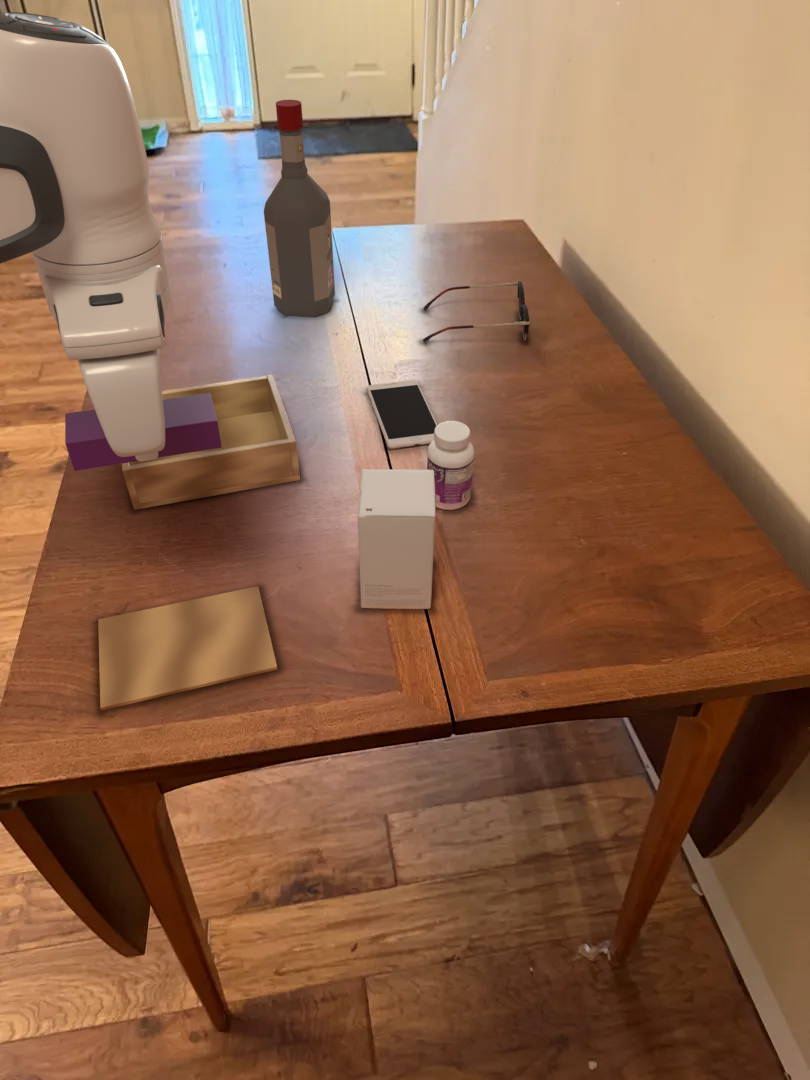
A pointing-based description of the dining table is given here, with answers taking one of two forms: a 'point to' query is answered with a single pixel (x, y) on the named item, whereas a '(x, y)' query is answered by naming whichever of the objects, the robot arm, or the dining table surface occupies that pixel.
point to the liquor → (298, 227)
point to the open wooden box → (223, 448)
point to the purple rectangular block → (184, 433)
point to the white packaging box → (396, 538)
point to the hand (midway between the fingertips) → (144, 436)
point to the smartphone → (402, 413)
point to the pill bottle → (451, 464)
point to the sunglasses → (522, 314)
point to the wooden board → (183, 647)
